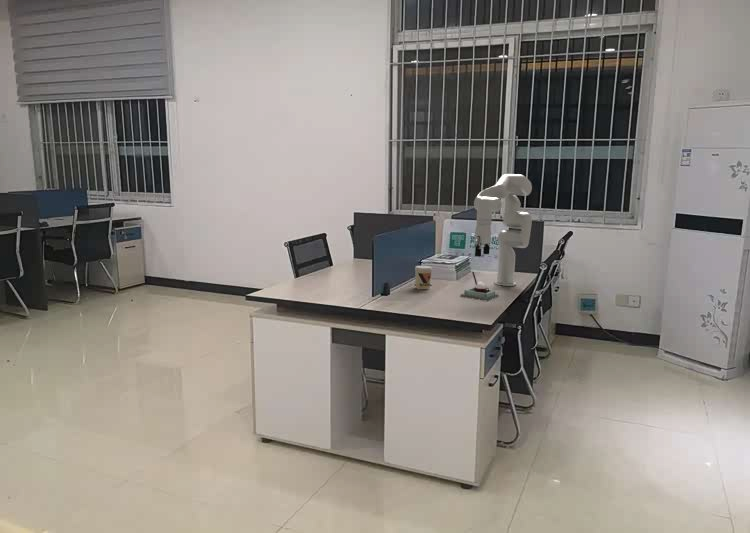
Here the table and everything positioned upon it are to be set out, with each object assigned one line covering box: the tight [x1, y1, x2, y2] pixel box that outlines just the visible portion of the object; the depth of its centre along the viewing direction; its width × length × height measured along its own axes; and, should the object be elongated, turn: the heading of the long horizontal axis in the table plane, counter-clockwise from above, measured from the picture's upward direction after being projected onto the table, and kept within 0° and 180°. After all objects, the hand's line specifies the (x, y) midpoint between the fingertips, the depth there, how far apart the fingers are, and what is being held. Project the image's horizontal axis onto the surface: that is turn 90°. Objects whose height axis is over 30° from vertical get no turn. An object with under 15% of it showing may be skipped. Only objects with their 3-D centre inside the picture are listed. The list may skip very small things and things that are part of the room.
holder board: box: [460, 286, 500, 301], centre depth 303 cm, size 14×15×3 cm
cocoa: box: [471, 271, 490, 293], centre depth 302 cm, size 10×6×12 cm, turn 79°
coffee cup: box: [414, 265, 433, 290], centre depth 319 cm, size 9×9×12 cm
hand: (482, 255), depth 300 cm, fingers open, 9 cm apart
